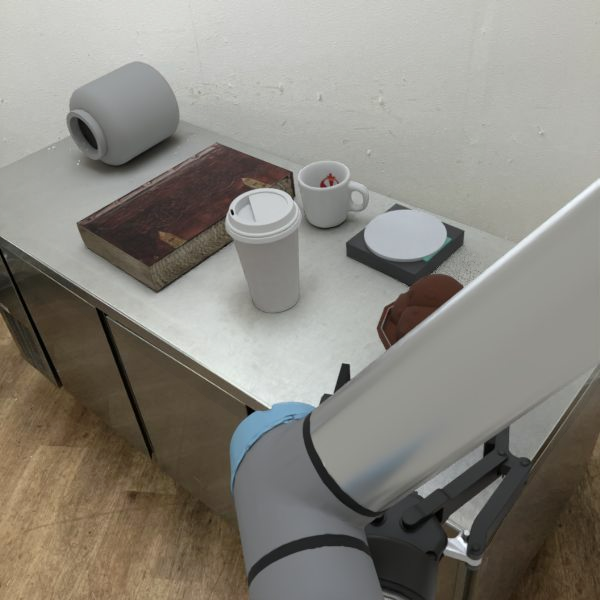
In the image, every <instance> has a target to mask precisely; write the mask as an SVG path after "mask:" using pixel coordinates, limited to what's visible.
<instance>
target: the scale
mask: <svg viewBox="0 0 600 600" xmlns="http://www.w3.org/2000/svg"><path fill="white" fill-rule="evenodd" d="M464 240H465V229H461V228H459V227H457V226H454V225H451V224H449V223H447V222H444V221H441V220H440V219H439V218H438V217H436V216H434V215H432V214H430V213H428V212H425V211H421V210H418V209H417V210H416V209H412V208H409V207H407V206H404V205H401V204H399V203H395V204H393V205H392V206H391V207H389V208H388V209H386V210H385V211H384V212H383V213H381V214H379V215H377V216H375V217H374V218H372V219H371V220H370V221H369V222H368V223H367V224H366V226H365V227H363V228H362V229H360V231H359V232H357V233H356V234H355V235H354V236H352V237H351V238H350V239H348V240H347V241H346V242H345V251H346V253H345V254H346V256H347V257H349V258H351V259H353V260H356V261H357V262H359V263H362V264H363V265H366V266H368V267H370V268H372V269H374V270H376V271H378V272H380V273H382V274H384V275H387V276H388V277H391V278H393V279H395V280H397V281H399V282H400V283H403V284H405V285H407V286H410V287H411V286H412V285H413V284H414V283H415V282H417V281H418V280H419V279H420V278H422V277H425V276H427V275H431V274H433V272H434V271H435V270H436V269H438V267H440V266H441V265H442V264H443V263H444V262H445V261H446V260H447V259H449V257H450V256H452V255H453V254H454V253H455V252H456V251H457V250H458V249H460V248H461V247H462V246H463V245H464Z"/></svg>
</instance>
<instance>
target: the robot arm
mask: <svg viewBox="0 0 600 600" xmlns="http://www.w3.org/2000/svg"><path fill="white" fill-rule="evenodd" d="M463 287H464V288H463V289H462V290H460V291H459V292H458V293H457V294H455V295H454V296H453V297H452V298H451V299H449V300H448V301H447V302H446V303H444V304H443V305H442V306H441V307H439V308H438V309H437V310H436V311H435V312H433V313H432V314H431V315H430V316H428V317H427V318H426V319H425V320H423V321H422V322H421V323H420V324H419V325H417V326H416V327H415V328H414V329H412V330H411V331H410V332H409V333H408V334H406V335H405V336H404V337H403V338H401V339H400V340H399V341H398V342H396V343H395V344H394V345H393V346H392V347H390V348H389V349H388V350H387V351H386V350H385V351H384V352H383V353H381V355H379V356H378V357H377V358H375V359H374V360H373V361H372V362H370V363H369V364H368V365H367V366H365V367H364V368H363V369H362V370H360V371H359V372H358V373H357V374H355V376H353V377H352V376H351V364H350V363H344V362H342V363H341V365H340V369H339V372H338V376H337V379H336V383H335V386H334V390H333V394H330V393H324V394H322V396H321V397H320V400H319V403H318V405H317V407H316V406H314V405H312V404H309V403H306V402H301V401H283V402H282V401H281V402H277V403H273V404H272V405H271V408H269V409H266V410H255V411H254V412H252V413H251V414H249V415H248V416H246V418H244V419H243V420H242V421H241V422H240V423H239V424H238V426H237V427H236V429H235V431H234V432H233V435H232V437H231V439H230V442H229V443H230V445H229V458H230V459H229V462H230V492H231V493H230V494H231V496H232V501H233V504H234V506H235V512H236V518H237V524H238V530H239V531H238V532H239V537H240V544H241V549H242V556H243V560H244V568H245V573H246V579H247V580H246V581H247V588H248V597H249V600H436V592H437V583H438V574H439V565H440V562H441V561H442V559H443V558H444V557H449V558H452V559H456V560H458V561H462V562H464V565H465V567H466V569H468V570H469V571H473V572H474V571H478V570H479V569H480V568H481V565H482V561H483V557H484V551H485V548H486V544H487V543H488V541H489V539H490V538H491V537H492V535H493V534H494V532H495V531H496V529H497V528H498V526H500V524H501V522H502V521H503V519H504V518H505V517H506V515H507V514H508V513H509V511H510V509H511V508H512V507H513V505H514V503H515V502H516V501H517V499H518V497H519V496H520V494H521V493H522V492H523V490H524V489H525V487H526V486H527V484H528V483H529V479H530V476H531V472H532V467H533V462H532V460H531V459H530V458H529V457H527V456H520V457H518V456H516V455H514V454H513V453H512V452H511V450H510V428H511V427H510V426H511V425H512V424H514V423H515V422H517V421H518V420H520V419H521V418H523V417H524V416H526V415H527V414H529V413H530V412H532V411H533V410H534V409H536V408H538V407H539V406H540V405H542V404H543V403H544V402H546V401H548V400H549V399H550V398H552V397H553V396H555V395H556V394H558V393H559V392H561V391H562V390H564V389H565V388H566V387H568V386H569V385H571V384H572V383H574V382H575V381H577V380H578V379H580V378H581V377H583V376H584V375H585V374H587V373H588V372H589V371H591V370H592V369H594V368H596V367H597V366H599V365H600V176H599V177H598V178H596V179H595V180H594V181H592V182H591V184H589V185H588V186H587V187H586V188H584V189H583V190H582V191H580V193H578V194H577V195H575V197H573V198H572V199H571V200H569V202H567V203H566V204H564V206H562V207H561V208H559V210H557V211H556V212H555V213H554V214H552V215H551V216H550V217H549V218H548V219H546V220H545V221H544V222H543V223H542V224H540V225H539V226H538V227H536V228H535V229H534V230H533V231H531V232H530V233H529V234H528V235H527V236H525V237H524V238H523V239H521V241H520V242H519V241H518V243H517V244H516V245H514V246H513V247H512V248H511V249H509V250H508V251H507V252H506V253H505V254H503V255H502V256H501V257H499V258H498V259H497V260H496V261H494V262H493V263H492V264H491V265H490V266H488V267H487V268H486V269H485V270H484V271H482V272H481V273H480V274H479V275H477V276H476V277H475V278H474V279H473V280H471V281H470V282H468V284H467V285H465V286H463ZM351 377H352V378H351ZM482 445H483V447H482V448H483V449H482V458H481V459H479V460H478V461H476V463H474V464H473V465H471V466H470V467H469V468H467V469H466V470H464V471H463V472H462V473H460V474H459V475H458V476H456V477H455V478H454V479H453V480H451V481H450V482H448V483H447V484H445V485H444V486H443V487H442V488H440V487H438V488H436V489H434V491H432V492H431V493H430V494H428V495H427V496H425V497H423V496H422V495H420V494H419V491H417V490H418V489H419V488H421V487H422V486H424V485H426V484H427V483H428V482H429V481H431V480H432V479H434V478H436V477H437V476H438V475H440V474H441V473H443V472H444V471H446V470H447V469H448V468H450V467H452V465H454V464H456V463H457V462H458V461H460V460H462V459H463V458H464V457H466V456H467V455H469V454H471V453H472V452H473V451H475V450H476V449H477V448H479V447H480V446H482ZM499 478H501V479H502V480H501V481H500V483H499V484H498V486H497V487H496V489H494V491H493V493H492V494H491V495H490V497H489V498H488V499H487V501H486V503H485V504H484V505H483V506H482V508H481V509H480V511H479V512H478V513H477V515H476V517H475V518H474V520H473V522H472V524H471V526H470V529H469V528H465V529H462V530H460V531H459V532H458V534H457V535H456V536H455V537H452V538H451V537H448V534H447V532H446V530H445V529H444V527H443V525H444V524H445V523H446V522H447V521H448V520H449V518H450V517H451V515H453V514H454V513H455V512H457V511H458V510H460V509H461V508H462V507H463V506H465V505H466V504H467V503H468V502H470V501H471V500H472V499H474V498H476V496H477V495H479V494H480V493H481V492H482V491H484V490H485V489H486V488H488V487H489V486H491V485H492V484H493V483H495V481H497V480H498V479H499Z"/></svg>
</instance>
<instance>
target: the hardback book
mask: <svg viewBox="0 0 600 600" xmlns="http://www.w3.org/2000/svg"><path fill="white" fill-rule="evenodd" d="M295 186H296V185H295V177H294V172H293V171H291V170H289V169H287V168H285V167H281V166H279V165H277V164H273V163H271V162H268V161H266V160H264V159H260V158H259V157H255V156H253V155H250V154H248V153H245V152H243V151H240V150H237V149H235V148H232V147H230V146H227V145H225V144H222V143H220V142H215V143H213V144H211V145H210V146H208V147H206V148H204V149H203V150H200V151H199V152H197V153H195V154H194V155H192V156H190V157H188V158H187V159H185V160H183V161H182V162H180V163H177V164H176V165H175V166H173V167H171V168H170V169H167V170H165V171H164V172H162V173H161V174H159V175H157V176H156V177H154V178H152V179H149V180H148V181H147V182H145V183H143V184H142V185H140V186H138V187H137V188H134V189H132V190H131V191H129V192H128V193H126V194H124V195H122V196H121V197H119V198H117V199H115V200H113V201H112V202H110V203H108V204H107V205H104V206H103V207H102V208H100V209H98V210H96V211H95V212H92V213H91V214H89V215H87V216H86V217H84V218H82V219H81V220H79V221H77V222H76V227H77V230H78V233H79V235H80V237H81V240H82V242H83V244H84V246H85V248H87V249H89V250H90V251H92V252H93V253H95V254H96V255H99V256H100V257H101V258H102V259H105V260H106V261H108V262H109V263H110V264H113V265H114V266H116V267H117V268H119V269H120V270H122V271H123V272H125V273H126V274H128V275H130V276H131V277H133V278H135V279H136V280H137V281H139V282H140V283H142V284H144V285H145V286H147V287H149V288H150V289H151V290H153V291H155V292H158V291H160V290H162V289H163V288H165V287H166V286H167V285H169V284H171V282H173V281H175V280H176V279H178V278H179V277H180V276H182V275H184V274H185V273H186V272H188V271H189V270H191V269H192V268H193V267H195V266H196V265H198V264H199V263H201V262H203V261H204V260H206V259H207V258H209V257H210V256H211V255H212V254H215V252H217V251H219V250H220V249H221V248H222V247H224V246H225V245H227V244H228V243H230V242H231V241H233V238H232V237H231V236H230V235H229V234H228V232H227V231H226V228H225V221H226V216H227V213H228V211H229V207H230V205H231V203H232V202H233V201H234V200H235V199H236V198H237V197H238V196H240V195H242V194H243V193H246V192H248V191H251V190H255V189H261V188H273V189H278V190H281V191H284V192H286V193H287V194H289V195H290V196H291V198H292V199H294V198H295V197H296V196H297V195H296V187H295Z"/></svg>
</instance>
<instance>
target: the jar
mask: <svg viewBox="0 0 600 600" xmlns="http://www.w3.org/2000/svg"><path fill="white" fill-rule="evenodd" d="M68 103H69V104H68V107H69V111H68V110H66V113H67V115H66V119H65V121H66V126H67V130H68V132H69V134H70V137H71V139H72V140H73V142H74V144H75V145H76V146H77V148H78V149H79V150H80V152H82V153H83V154H84V155H85V156H86V157H88V158H89V159H91V160H94V161H98V160H100V161H101V162H102V163H104V164H107V165H109V166H121V165H124V164H126V163H128V162H129V161H131V160H132V159H134V158H137V156H140V155H141V154H142V153H144V152H146V151H148V150H149V149H152V148H153V147H154V146H156V145H158V144H160V143H162V142H163V141H165V140H166V139H168V138H169V137H171V136H172V135H174V134H175V132H176V131H177V129H178V127H179V123H180V119H181V116H180V115H181V114H180V108H179V103H178V100H177V97H176V95H175V92H174V90H173V89H172V87H171V85H170V83H169V82H168V81H167V79H166V78H165V76H164V75H163V74H162V73H160V71H159V70H157V69H156V68H155V67H154V66H152V65H151V64H149V63H146V62H142V61H135V60H134V61H132V62H128V63H126V64H124V65H122V66H120V67H118V68H115V69H114V70H112V71H109V72H108V73H106V74H104V75H102V76H100V77H97V78H95V79H94V80H91V81H89V82H88V83H85V84H83V85H82V86H79V87H78V88H76V89H75V90H73V92H72V93H71V96H70V98H69V102H68ZM61 110H62V111H63V110H64V107H62V108H61ZM62 126H65V123H62ZM63 131H64V129H63V128H61V130H59V131H58V133H59V134H62V132H63ZM195 137H196V135H193V138H195ZM56 139H58V140H59V139H61V136H59V135H58V136H57V138H56ZM187 142H189V139H187ZM178 148H179V149H180V148H181V146H180V145H179V146H178ZM52 150H56V146H52ZM47 151H51V148H49V147H48V148H47ZM69 151H70V152H71V151H72V148H70V149H69ZM174 155H177V152H174ZM78 162H79V163H78ZM78 162H77V163H76V165H77V166H80V162H81V160H80V159H79V160H78Z"/></svg>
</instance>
